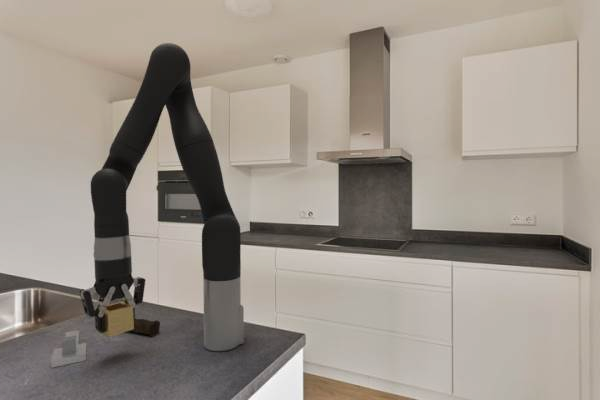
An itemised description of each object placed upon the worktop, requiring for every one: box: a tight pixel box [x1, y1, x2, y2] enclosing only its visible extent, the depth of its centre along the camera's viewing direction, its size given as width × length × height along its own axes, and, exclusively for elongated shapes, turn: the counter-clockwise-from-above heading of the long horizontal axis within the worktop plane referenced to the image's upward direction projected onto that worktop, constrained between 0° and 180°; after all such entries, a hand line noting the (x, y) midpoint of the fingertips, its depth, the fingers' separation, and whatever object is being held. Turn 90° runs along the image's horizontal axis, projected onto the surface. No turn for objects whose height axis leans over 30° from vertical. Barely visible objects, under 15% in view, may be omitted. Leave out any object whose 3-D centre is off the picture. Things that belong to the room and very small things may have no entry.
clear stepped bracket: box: [50, 329, 87, 369], centre depth 84 cm, size 6×17×5 cm, turn 31°
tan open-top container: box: [97, 301, 134, 338], centre depth 80 cm, size 6×6×6 cm
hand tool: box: [129, 318, 161, 338], centre depth 95 cm, size 19×4×5 cm, turn 70°
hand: (116, 327), depth 80 cm, fingers closed on tan open-top container, 5 cm apart
